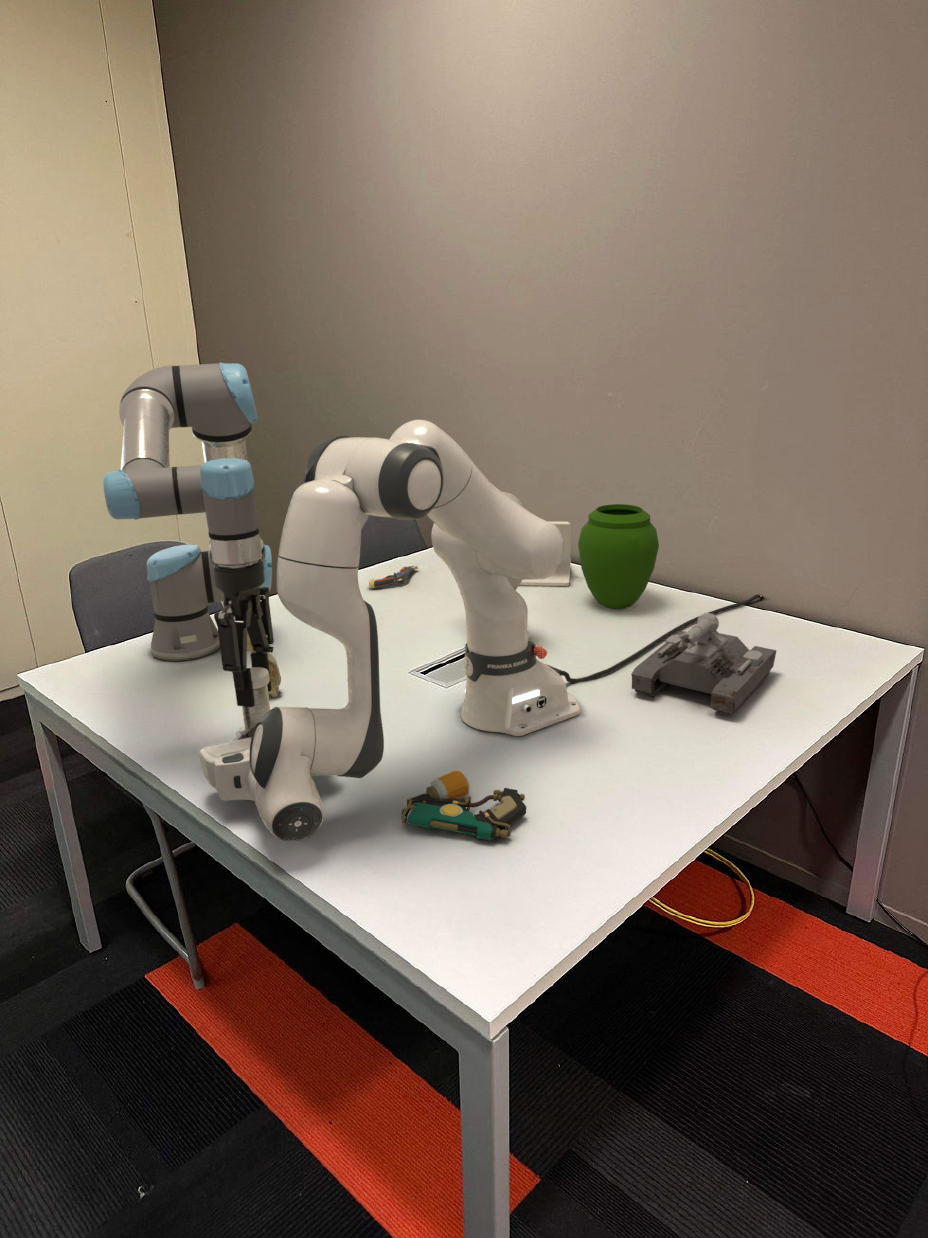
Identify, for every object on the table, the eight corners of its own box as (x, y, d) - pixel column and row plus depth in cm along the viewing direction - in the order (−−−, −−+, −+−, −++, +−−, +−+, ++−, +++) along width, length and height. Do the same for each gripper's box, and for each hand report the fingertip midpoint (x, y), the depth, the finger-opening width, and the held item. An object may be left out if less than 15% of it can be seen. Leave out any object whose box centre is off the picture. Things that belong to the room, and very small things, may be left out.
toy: (680, 652, 185) (684, 586, 179) (774, 672, 174) (781, 603, 168) (629, 696, 166) (633, 623, 160) (731, 721, 154) (738, 645, 149)
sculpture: (247, 690, 173) (238, 621, 168) (283, 687, 174) (275, 618, 168) (243, 702, 168) (234, 631, 162) (281, 700, 168) (273, 629, 163)
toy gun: (366, 581, 230) (401, 578, 228) (385, 565, 248) (418, 562, 246) (367, 590, 231) (403, 587, 228) (386, 574, 248) (419, 571, 246)
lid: (276, 680, 139) (275, 670, 139) (252, 692, 135) (251, 683, 135) (253, 673, 142) (252, 664, 142) (228, 685, 138) (227, 676, 137)
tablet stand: (569, 585, 229) (570, 524, 223) (476, 584, 232) (475, 523, 226) (570, 566, 246) (571, 508, 240) (484, 564, 249) (483, 507, 243)
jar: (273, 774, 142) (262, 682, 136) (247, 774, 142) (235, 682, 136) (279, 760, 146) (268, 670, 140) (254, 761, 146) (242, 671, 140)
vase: (599, 587, 227) (601, 497, 218) (668, 600, 216) (673, 505, 208) (562, 608, 212) (564, 513, 204) (634, 623, 202) (639, 523, 193)
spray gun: (537, 812, 130) (487, 868, 119) (446, 778, 138) (391, 827, 127) (539, 789, 129) (488, 844, 117) (446, 756, 137) (390, 804, 125)
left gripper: (244, 544, 141) (260, 673, 149) (183, 578, 124) (205, 720, 132) (286, 546, 139) (299, 676, 147) (229, 580, 122) (248, 725, 130)
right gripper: (339, 737, 133) (317, 702, 145) (204, 766, 126) (193, 727, 138) (342, 772, 136) (320, 734, 148) (210, 803, 128) (198, 761, 140)
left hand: (254, 697), depth 140 cm, fingers closed on lid, 5 cm apart
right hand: (258, 731), depth 143 cm, fingers closed on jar, 4 cm apart
